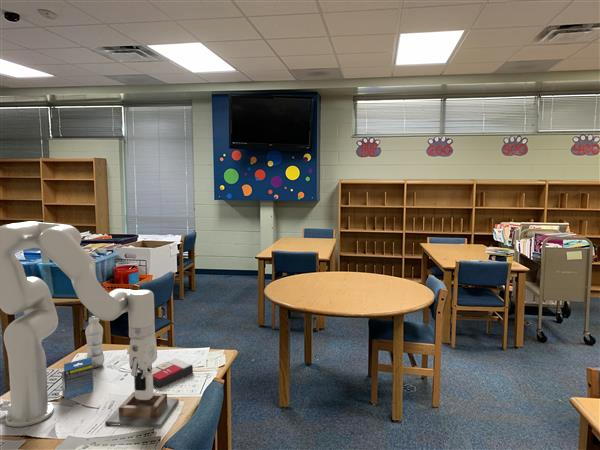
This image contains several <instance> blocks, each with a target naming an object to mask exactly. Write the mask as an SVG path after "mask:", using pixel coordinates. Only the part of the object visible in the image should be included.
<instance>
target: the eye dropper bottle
mask: <svg viewBox="0 0 600 450" xmlns="http://www.w3.org/2000/svg"><path fill="white" fill-rule="evenodd" d="M138 368H140V367H138ZM138 372H140V373H141V371H138ZM144 377H146V390H145V391H141V390H135V379H134V378H133V384H134V386H133V387H134V388H133V389H134V392H135V398H136V399H139V400H149V399H151V398H152V397H153V393H154V386H153V375H152V373H150V372H149V371H147V369H146V370H145V372H144Z"/></svg>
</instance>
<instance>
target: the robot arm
mask: <svg viewBox="0 0 600 450" xmlns="http://www.w3.org/2000/svg"><path fill="white" fill-rule="evenodd" d="M81 243H82V235H81V232H80V231H79V229H77V228H76V227H75V226H72V225H69V224H62V223H51V222H50V223H49V222H41V221H23V222H13V223H9V224H8V223H7V224H2V225H0V309H1V311H2V312H3V313H5V314H7V315H17V314H20V313H23V315H22V316H19V317H18V318H16V319H14V320H12V322H10V323H9V324H8V325H7V327H6V328H5V330H4V332H3V342H4V346H5V347H4V348H5V349H6V353H7V354H6V355H7V361H8V373H9V374H8V375H9V393H10V395H9V396H10V400H8V399H6V400H4V401H3V402H2V405H1V406H0V411H7V414H6V416H5V424H6V425H7V426H9V427H15V428H22V427H27V426H28V427H29V426H31V425H35V424H38V423H41V422H43V421H44V420H46V419H48V418H49V417H50V416H51V415H53V413H54V410H55V406H54V404H53V403H50V402H49V400H48V399H49V398H48V395H49V393H48V377H47V376H48V374H47V373H48V372H47V357H46V352H45V349H44V348H43V345H42V341H44V340H45V339H46V338H47V337H49V336H50V335H52V334H53V333H54V332H55V331H56V330H57V328H58V326H59V316H58V312H57V310H56V306H55V303H54V299H53V296H52V293H51V291H50V288H49V286H48V284H47V283H46V282H45V281H44V280H43V279H41V278H40V277H37V276H26V272H25V268H24V266H23V264H22V262H21V261H20V260H19V258H18V257H17V256H16V253H17V252H21V251H22V252H23V251H25V250H29V249H40V250H41V251H42V253H44V254H45V255H46V256H47V257H48V258H49V259H50V260H51V262H53V263H54V264H55V265H56V266H57V267H58V269H60V270H61V271H62V272H63V273H64V274H65V275H66V276H67V277H68V278H69V279H70V280H71V284H72V288H73V290H74V292H75V294H76V296H77V298H78V300H79V301H80V303H82V305H83V306H84V307H85V308H86V309H87V310H88V311H89V312H90V313H91V314H92V315H93V316H96V317H97V318H99V320H101V321H104V322H111V321H115V320H116V319H118V318H119V317H120V316H121V315H122V314H124V313H127V312H128V337H129V338H130V340H129V355H128V356H129V360H128V361H129V369H130V370H131V372H130V376H133V380H134V379H135V390H141V391H145V390H146V377H144V372H145V370H146V369H147V371H149V372H150V373H152V371H151V370H152V368H153V366H152V365H153V364H154V363H155V362H156V361H157V358H158V349H157V348H158V347H157V338H156V336H157V335H156V330H155V329H156V328H155V320H156V319H155V294H154V292H153V291H152V290H150V289H138V290H135V289H134V290H133V289H126V288H115V289H113V290H111V291H110V292H108V291H107V289H105V288H104V287H103V286H102V284H101V283H100V282H99V280H98V278H97V275H96V261H95V259H94V258H93V257H92V256H91V254H89V252H87V251H86V249H84V248H83V246H81V245H80V244H81ZM139 367H140V368H139ZM139 371H141V373H140V372H139ZM135 390H134V391H135Z"/></svg>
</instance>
